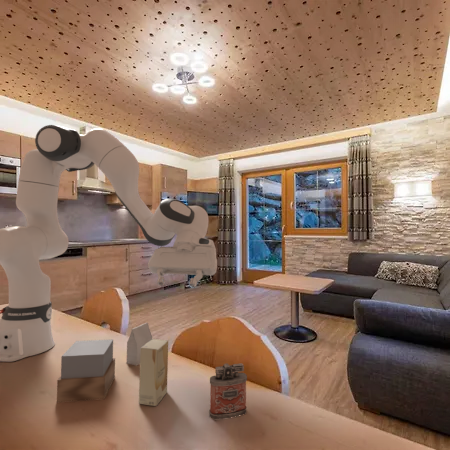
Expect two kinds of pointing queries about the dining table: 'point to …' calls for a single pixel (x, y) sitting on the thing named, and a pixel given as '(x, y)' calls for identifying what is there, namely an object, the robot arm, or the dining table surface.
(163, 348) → the skincare box
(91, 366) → the tower top block
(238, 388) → the lighter
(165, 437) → the dining table surface
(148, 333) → the white red printed carton
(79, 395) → the tower base block
